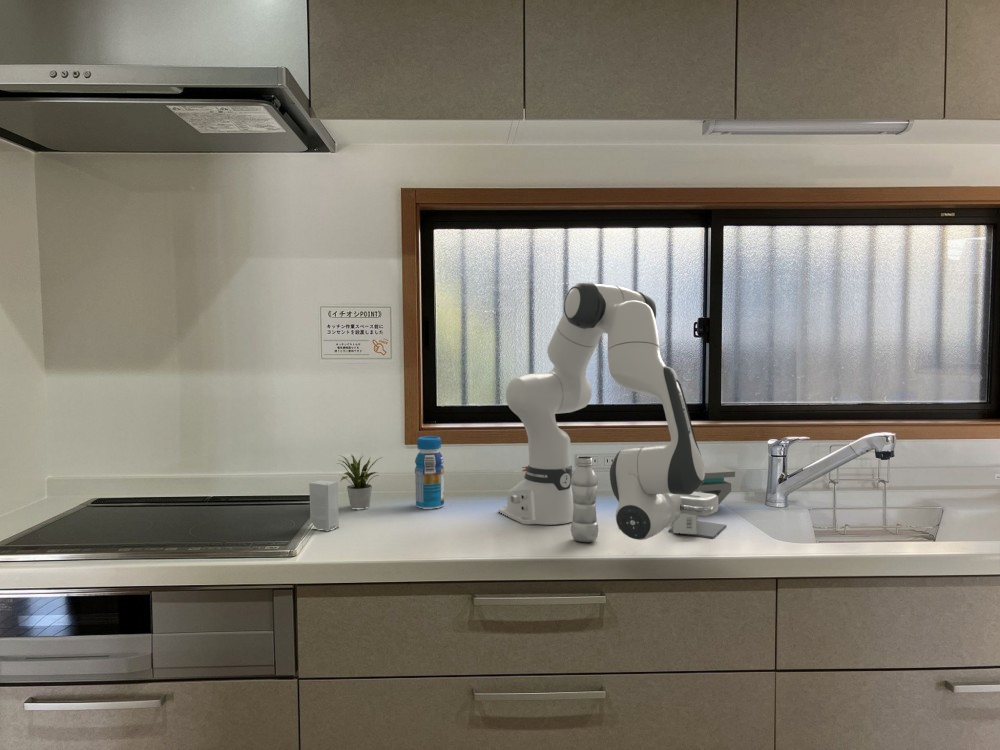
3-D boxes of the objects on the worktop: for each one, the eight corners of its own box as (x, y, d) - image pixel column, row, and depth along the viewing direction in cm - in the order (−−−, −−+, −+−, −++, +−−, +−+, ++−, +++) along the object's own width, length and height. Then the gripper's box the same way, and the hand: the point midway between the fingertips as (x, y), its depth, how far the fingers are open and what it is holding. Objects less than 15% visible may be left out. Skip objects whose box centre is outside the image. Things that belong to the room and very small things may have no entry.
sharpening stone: (652, 516, 181) (652, 476, 181) (639, 508, 189) (639, 470, 188) (734, 510, 187) (735, 471, 186) (719, 503, 195) (719, 466, 194)
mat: (713, 538, 160) (713, 536, 160) (668, 531, 166) (668, 529, 166) (726, 526, 170) (726, 524, 170) (683, 520, 176) (683, 518, 176)
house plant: (319, 511, 189) (318, 453, 188) (348, 500, 201) (347, 446, 200) (362, 516, 183) (361, 456, 182) (389, 504, 196) (388, 449, 195)
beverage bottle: (409, 507, 192) (408, 438, 191) (427, 501, 199) (426, 434, 198) (432, 511, 187) (431, 440, 186) (450, 505, 194) (449, 436, 193)
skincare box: (339, 527, 172) (338, 481, 171) (328, 532, 168) (327, 485, 167) (320, 525, 174) (319, 479, 174) (309, 529, 171) (308, 482, 170)
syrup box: (697, 511, 161) (695, 497, 175) (671, 510, 163) (671, 496, 177) (697, 534, 161) (695, 519, 176) (671, 533, 163) (672, 518, 177)
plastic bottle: (581, 546, 155) (581, 461, 154) (565, 539, 161) (565, 456, 160) (604, 542, 158) (604, 458, 156) (587, 535, 164) (587, 454, 162)
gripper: (709, 496, 138) (726, 484, 149) (616, 485, 149) (638, 475, 160) (709, 526, 138) (726, 512, 149) (616, 514, 149) (638, 501, 160)
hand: (680, 492), depth 155 cm, fingers closed
